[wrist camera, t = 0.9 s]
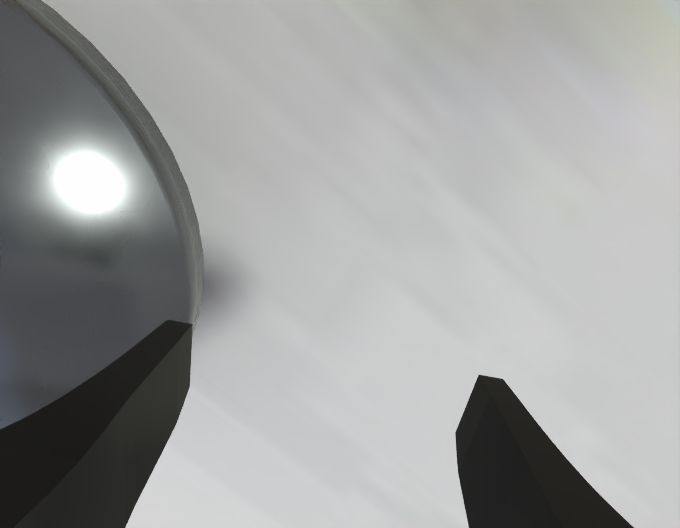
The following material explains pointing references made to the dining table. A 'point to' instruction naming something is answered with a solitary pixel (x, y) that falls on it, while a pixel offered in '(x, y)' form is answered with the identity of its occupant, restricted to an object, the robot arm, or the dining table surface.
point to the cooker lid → (81, 214)
